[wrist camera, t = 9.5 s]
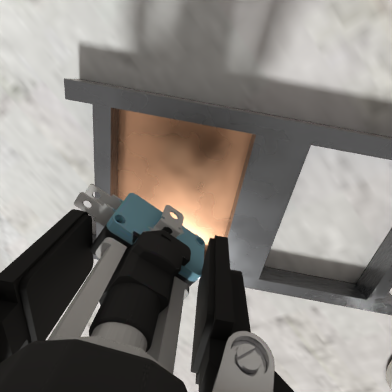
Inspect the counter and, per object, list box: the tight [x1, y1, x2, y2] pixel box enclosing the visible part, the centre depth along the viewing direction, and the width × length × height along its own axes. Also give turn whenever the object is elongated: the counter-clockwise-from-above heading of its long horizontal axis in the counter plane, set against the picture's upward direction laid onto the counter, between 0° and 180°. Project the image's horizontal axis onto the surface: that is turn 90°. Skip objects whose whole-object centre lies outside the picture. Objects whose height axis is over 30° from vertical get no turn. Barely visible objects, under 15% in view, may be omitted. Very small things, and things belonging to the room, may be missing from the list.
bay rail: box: [64, 79, 392, 315], centre depth 16 cm, size 24×12×2 cm, turn 81°
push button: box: [0, 184, 205, 392], centre depth 8 cm, size 7×5×10 cm
